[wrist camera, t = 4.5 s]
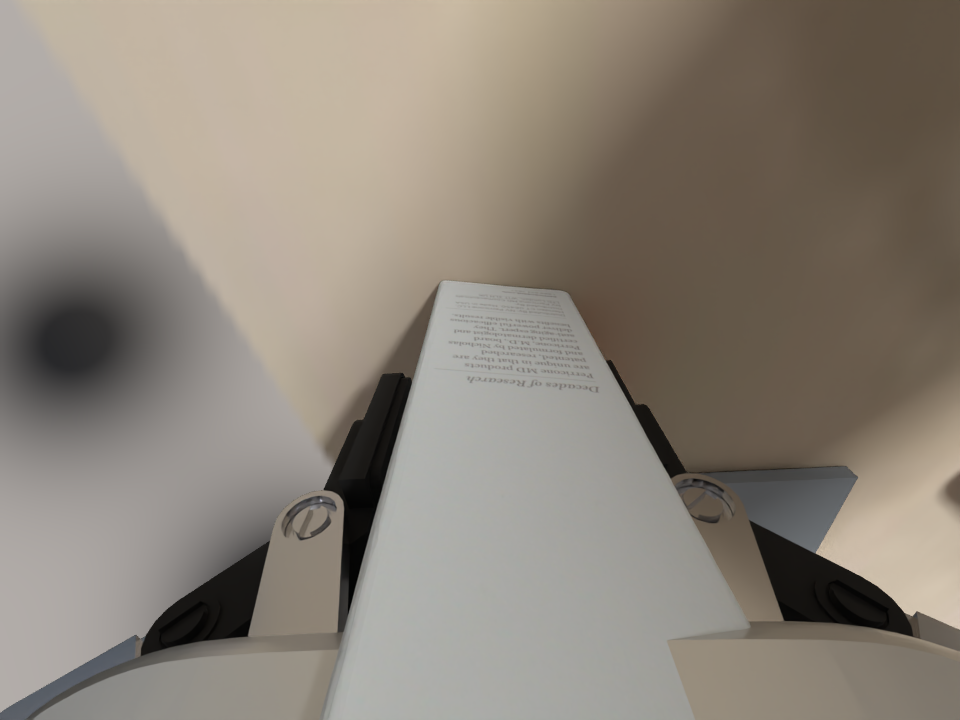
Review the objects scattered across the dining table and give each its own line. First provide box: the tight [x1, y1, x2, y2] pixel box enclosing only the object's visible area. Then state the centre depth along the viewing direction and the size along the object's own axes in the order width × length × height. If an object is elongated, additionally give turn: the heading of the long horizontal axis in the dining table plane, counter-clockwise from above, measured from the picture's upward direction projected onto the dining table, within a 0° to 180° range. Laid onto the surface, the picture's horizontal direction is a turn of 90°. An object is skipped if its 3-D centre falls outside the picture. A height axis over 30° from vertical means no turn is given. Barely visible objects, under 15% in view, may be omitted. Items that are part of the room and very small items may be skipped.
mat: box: [697, 466, 858, 553], centre depth 20 cm, size 14×14×1 cm
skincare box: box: [319, 280, 751, 720], centre depth 9 cm, size 6×4×12 cm
